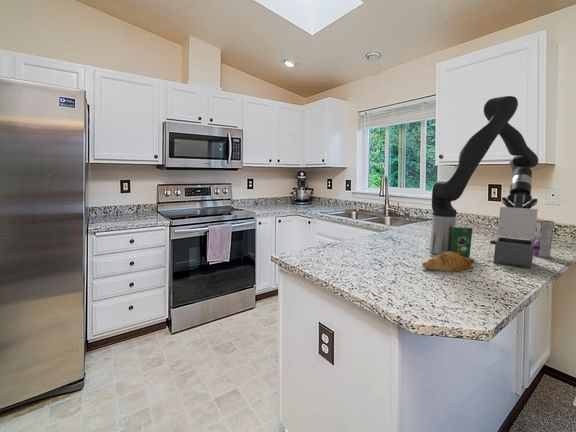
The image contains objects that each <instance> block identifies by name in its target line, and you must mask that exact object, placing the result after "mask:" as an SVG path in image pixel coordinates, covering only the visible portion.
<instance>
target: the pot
mask: <svg viewBox="0 0 576 432" xmlns="http://www.w3.org/2000/svg"><path fill="white" fill-rule="evenodd" d="M489 244H490V245H494V253H493V264H495V265H501V266H502V265H503V266H509V267H513V268H514V267H515V268H520V269H521V268H522V269H529V270H532V267H533V265H532V264H533V260H534V255H533V251H534V249H537V250H540V246H537V245H534V242H533V241H530V240H525V239H522V238H513V237H504V236H497V237H496V240H490V243H489Z"/></svg>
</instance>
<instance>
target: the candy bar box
mask: <svg viewBox="0 0 576 432" xmlns="http://www.w3.org/2000/svg"><path fill="white" fill-rule="evenodd" d="M554 226H555V220H550V219H546V218H544V217H538V216H537V219H536V228H535V236H534V239H525V238H524V240H530V241H533V242H534V245H537V246H540V250H537V249H534V251H533V256H535V257H537V258H551V251H552V250H551V249H552V243H553V242H552V241H553V235H554V234H553V233H554Z"/></svg>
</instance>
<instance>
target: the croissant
mask: <svg viewBox="0 0 576 432" xmlns="http://www.w3.org/2000/svg"><path fill="white" fill-rule="evenodd" d="M473 264H474V259H471V258H469V257H463V256H461V255H459V254H458V253H456V252H452V251H448V252H443V253H441V254H440V255H438V254H436V255H435V256H434V257H433V258H429V259H428V260H426V261H425V262H424V261H423V262H422V263H421V266H422V268H424V269H426V270H432V271H437V272H445V271H446V272H448V273H449V272H450V273H453V272H461V271H463V270H466V269H468V268H470V267H471V266H472V265H473Z"/></svg>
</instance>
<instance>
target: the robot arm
mask: <svg viewBox="0 0 576 432" xmlns="http://www.w3.org/2000/svg"><path fill="white" fill-rule="evenodd" d="M518 106H519V101H518V98H517V97H516V96H514V95H508V96H507V95H505V96H500V97H498V96H497V97H493V98H489V99H488V100H487V101H486V102H485V103H484V106H483V114H484V117H485V118H486V120H487V121H488V122H487V123H486V124H485V125H484V126H482V127H481V128H480V129H479V130H477V131H476V132H474V133H473V134H472V135H471V136H470V137H469V138H468V139H467V140H466V141H465V143H464V145H463V146H462V148H461V150H460V152H459V155H458V156H459V157H458V165H457V168H456V170H455V172H454V173H453V175H452V176H451V177H450V179H439V180H437V181H436V182H434V185H433V187H432V190H431V192H432V193H431V210H432V212H433V213H432V215H433V216H432V227H431V231H430V239H429V240H430V241H429V242H430V243H429V252H430V254H432V255H433V254H434V255H440V254H441V253H443V252H448V251H451V245H452V235H453V227H456V222H457V212H458V211H457V209H456V208H455V207H453V205H452V202H455V201H457V200H458V199H460V197H461V196H462V195H463V193H464V191H465V190H466V187H467V185H468V183H469V181H470V180H471V177H472V176H473V174H474V173H475V171H476V169H477V168H478V166H479V165H480V163H481V162H482V160H483V158H484V157H485V155H486V154H487V153H488V151H489V149H490V148H491V147H492V144H493V143H494V142H495V140H496V139H497V137H498V136H500V138H501V139H502V141H503V143H504V144H505V148H506V149H507V152H508V154H510V156H512V158H511V159H509V165H510V167H511V170H512V178H511V182H510V185H509V187H510V188H509V194H508V195H507V197H505V196H504V197H501V203H502V204H503V205H504V207H511V208H515V202H516V194H524V196H523V204H522V208H528V209H532V208H533V207H534V206H536V205H538V198H533V196H532V194H531V193H532V184H533V183H532V178H533V177H532V176H533V172H532V168H535V167H536V166H537V165H538V164H539V156H538V155H537V154H536V153H535V152H534V151H533V150H532V149H531V148H530V147H529V146H528V145H527V142H526V140H525V138H524V136H523V135H522V133H521V132H520V131H519V130H518V129H517V128H515V126H513V125H511V124H510V123H509V121H510V120H511V119H512V118H513V117H514V115H515V114H516V111H517V109H518Z"/></svg>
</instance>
